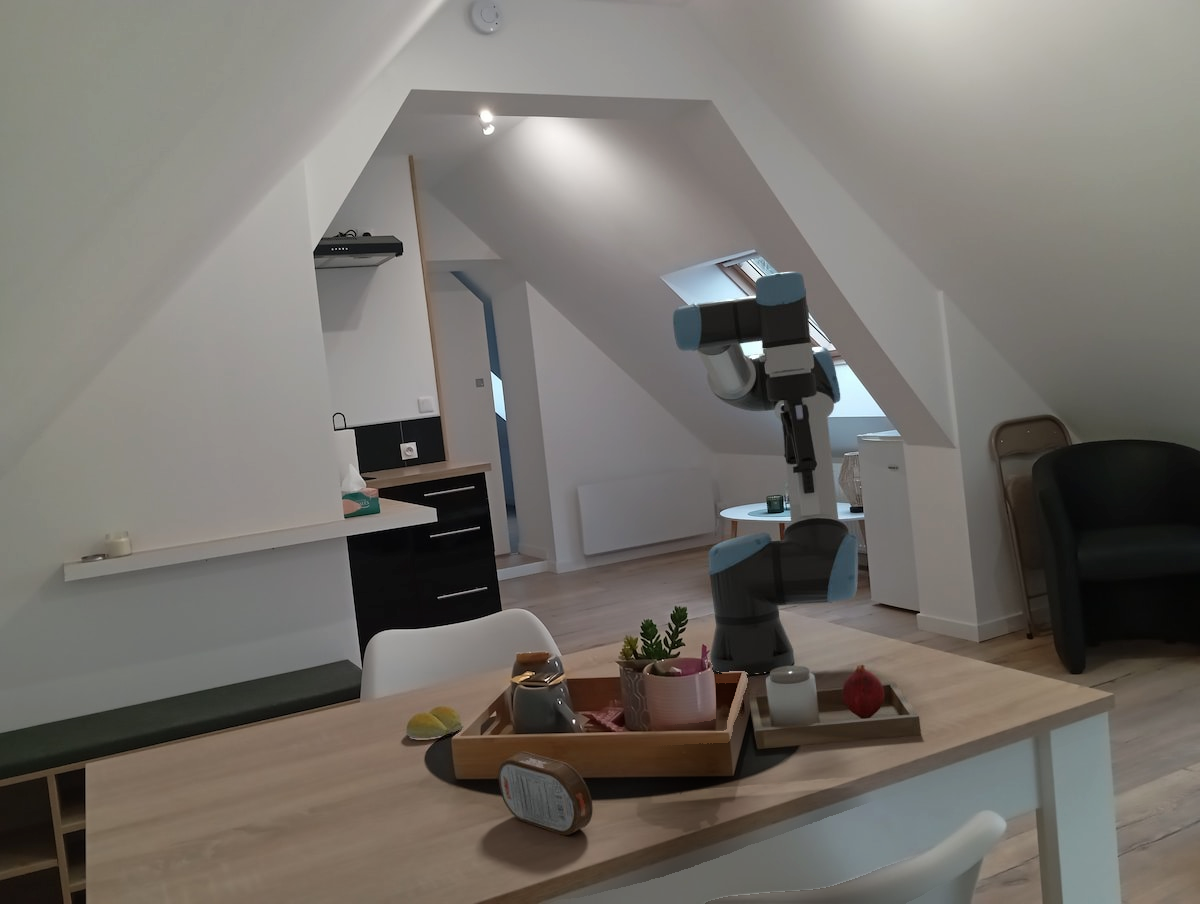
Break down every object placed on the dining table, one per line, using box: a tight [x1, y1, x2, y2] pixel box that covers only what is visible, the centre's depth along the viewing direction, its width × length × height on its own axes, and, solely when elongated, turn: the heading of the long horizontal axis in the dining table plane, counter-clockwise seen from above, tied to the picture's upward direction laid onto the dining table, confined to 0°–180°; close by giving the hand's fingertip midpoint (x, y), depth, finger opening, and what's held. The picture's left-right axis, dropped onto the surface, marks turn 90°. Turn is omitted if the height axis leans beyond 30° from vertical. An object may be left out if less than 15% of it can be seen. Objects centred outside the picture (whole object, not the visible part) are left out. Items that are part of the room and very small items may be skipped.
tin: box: [497, 750, 594, 836], centre depth 122 cm, size 15×3×8 cm, turn 44°
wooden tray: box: [748, 681, 922, 750], centre depth 143 cm, size 16×22×4 cm
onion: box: [842, 663, 884, 719], centre depth 142 cm, size 6×6×8 cm
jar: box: [765, 665, 820, 727], centre depth 144 cm, size 7×7×8 cm
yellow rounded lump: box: [406, 705, 464, 738], centre depth 165 cm, size 8×9×4 cm
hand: (805, 509), depth 156 cm, fingers open, 13 cm apart
